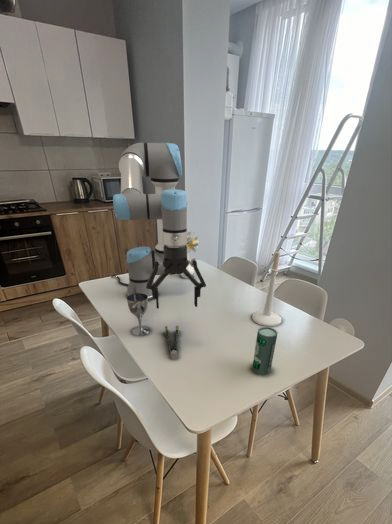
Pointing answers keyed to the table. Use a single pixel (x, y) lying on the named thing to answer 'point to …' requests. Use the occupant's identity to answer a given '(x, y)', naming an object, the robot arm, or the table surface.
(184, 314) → the table surface
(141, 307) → the wine glass
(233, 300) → the table surface
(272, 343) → the can
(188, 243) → the flower vase
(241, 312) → the table surface
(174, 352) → the tongs
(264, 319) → the candlestick
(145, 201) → the robot arm
